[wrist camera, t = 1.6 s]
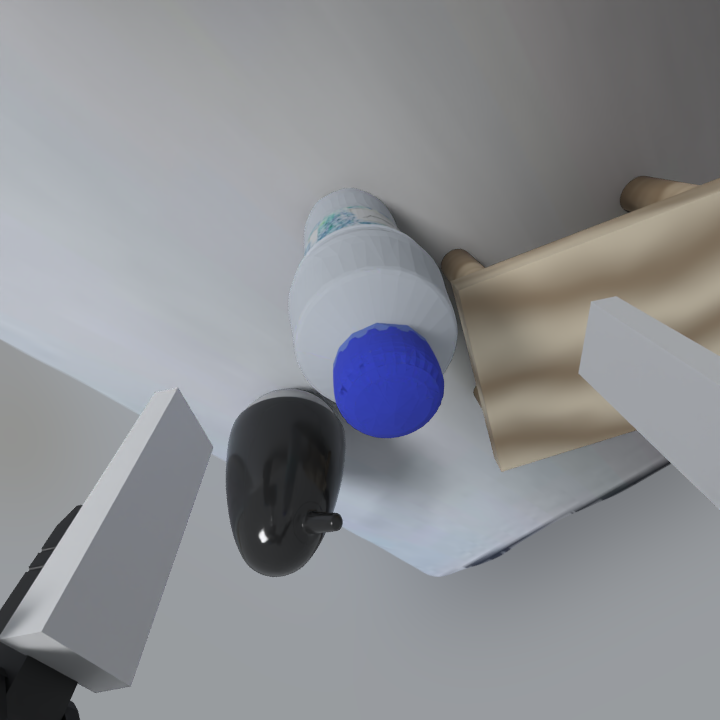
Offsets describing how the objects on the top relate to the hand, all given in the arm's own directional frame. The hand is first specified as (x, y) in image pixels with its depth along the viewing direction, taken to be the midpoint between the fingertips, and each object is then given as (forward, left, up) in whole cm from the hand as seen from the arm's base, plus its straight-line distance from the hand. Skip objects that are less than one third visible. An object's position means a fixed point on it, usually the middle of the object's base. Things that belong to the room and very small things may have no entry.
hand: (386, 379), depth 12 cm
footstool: (+10, +16, -18) cm, 26 cm away
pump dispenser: (+16, -9, -18) cm, 26 cm away
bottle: (0, 0, -18) cm, 18 cm away
